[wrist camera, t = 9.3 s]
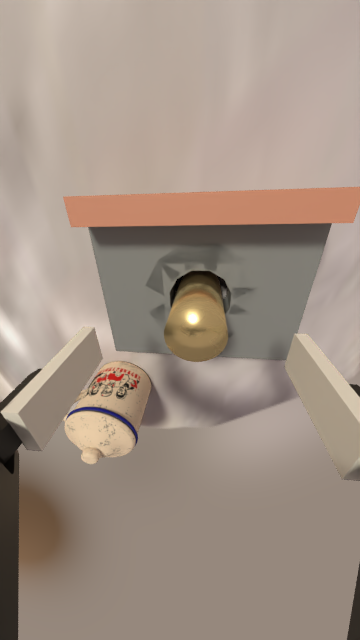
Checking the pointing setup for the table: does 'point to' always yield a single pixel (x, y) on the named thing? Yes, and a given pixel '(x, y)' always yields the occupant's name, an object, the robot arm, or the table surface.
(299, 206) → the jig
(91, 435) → the teacup with lid
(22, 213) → the table surface
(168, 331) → the brass cylinder
